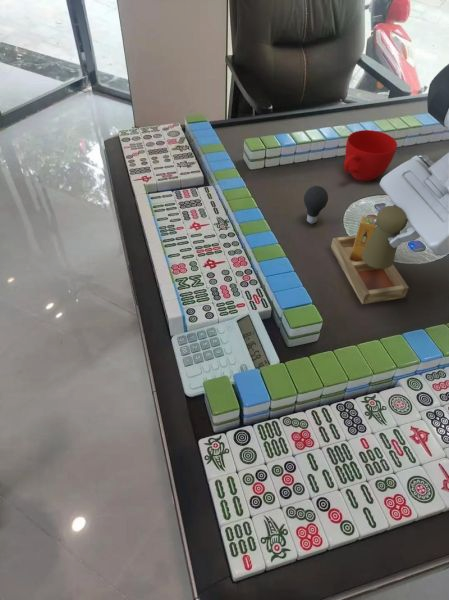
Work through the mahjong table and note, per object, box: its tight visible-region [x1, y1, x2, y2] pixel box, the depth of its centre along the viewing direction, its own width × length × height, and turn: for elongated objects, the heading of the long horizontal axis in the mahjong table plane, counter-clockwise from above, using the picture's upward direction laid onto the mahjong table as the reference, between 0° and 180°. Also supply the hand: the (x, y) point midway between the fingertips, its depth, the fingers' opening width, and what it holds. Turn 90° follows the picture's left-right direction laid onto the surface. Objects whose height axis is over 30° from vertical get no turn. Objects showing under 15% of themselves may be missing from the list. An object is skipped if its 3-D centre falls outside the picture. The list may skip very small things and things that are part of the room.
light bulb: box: [303, 185, 329, 225], centre depth 103 cm, size 6×6×10 cm
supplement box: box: [350, 215, 377, 261], centre depth 94 cm, size 3×3×10 cm
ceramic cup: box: [343, 129, 398, 182], centre depth 117 cm, size 13×17×10 cm
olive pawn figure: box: [362, 206, 409, 269], centre depth 79 cm, size 6×6×11 cm
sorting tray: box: [330, 234, 409, 305], centre depth 94 cm, size 10×18×3 cm, turn 11°
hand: (383, 234), depth 78 cm, fingers closed on olive pawn figure, 4 cm apart
